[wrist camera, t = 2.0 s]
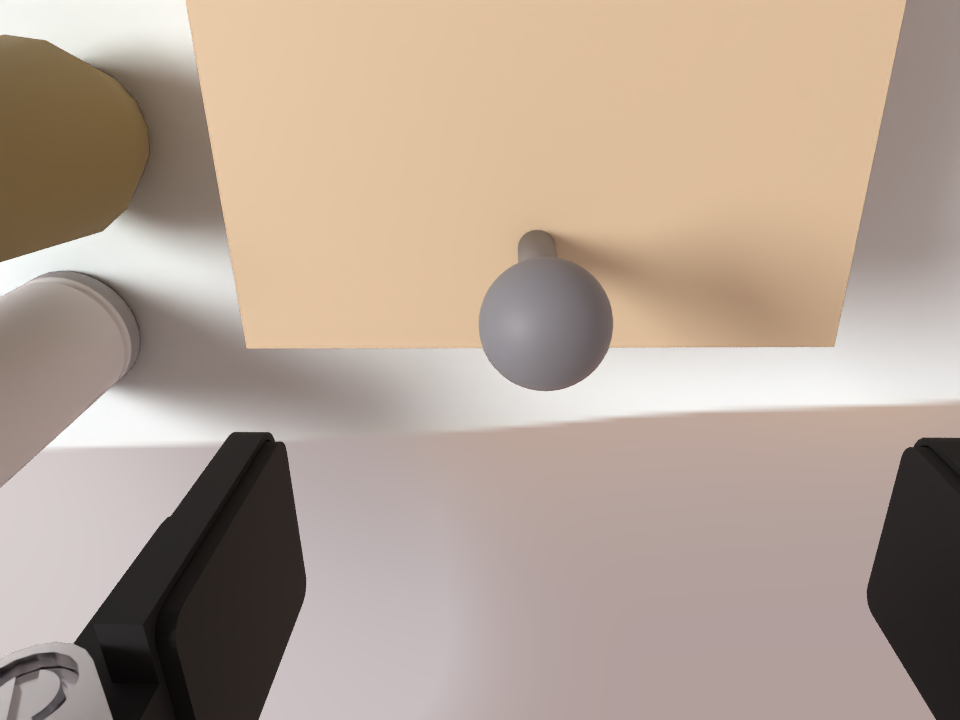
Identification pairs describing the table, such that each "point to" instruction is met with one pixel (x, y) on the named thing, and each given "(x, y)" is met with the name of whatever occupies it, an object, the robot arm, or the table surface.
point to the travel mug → (57, 358)
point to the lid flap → (543, 171)
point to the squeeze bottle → (62, 147)
